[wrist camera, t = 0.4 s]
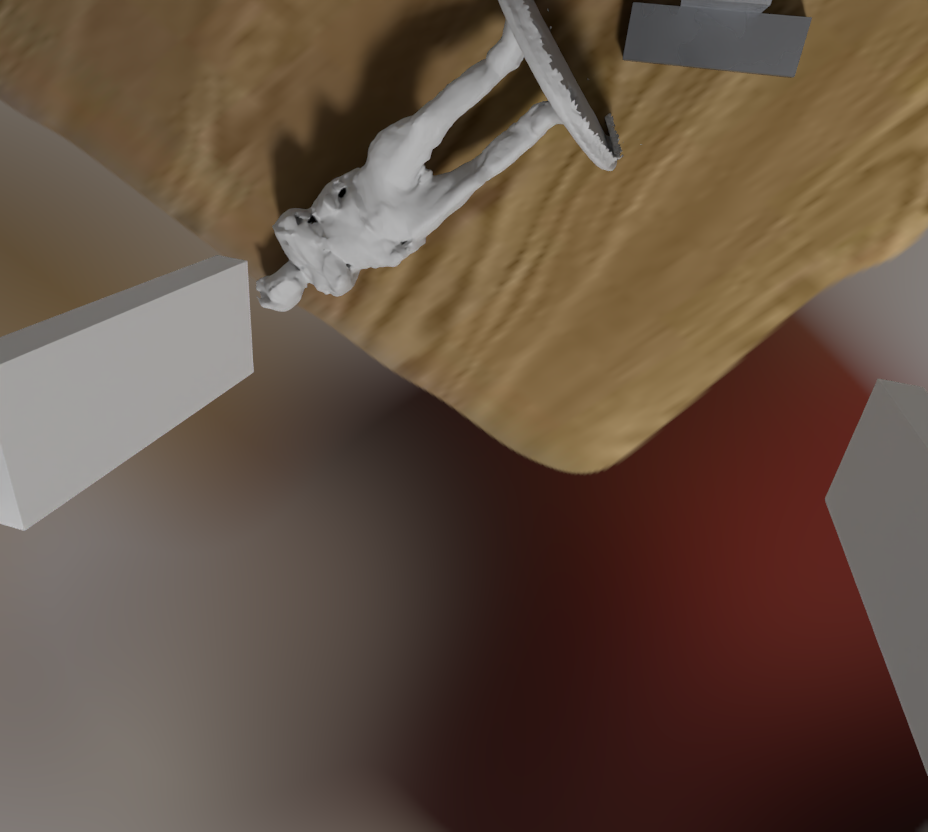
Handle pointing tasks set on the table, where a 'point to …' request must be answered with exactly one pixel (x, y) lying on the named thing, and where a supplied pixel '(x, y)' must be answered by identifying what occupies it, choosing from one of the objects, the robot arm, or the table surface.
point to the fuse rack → (717, 36)
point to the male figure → (412, 185)
